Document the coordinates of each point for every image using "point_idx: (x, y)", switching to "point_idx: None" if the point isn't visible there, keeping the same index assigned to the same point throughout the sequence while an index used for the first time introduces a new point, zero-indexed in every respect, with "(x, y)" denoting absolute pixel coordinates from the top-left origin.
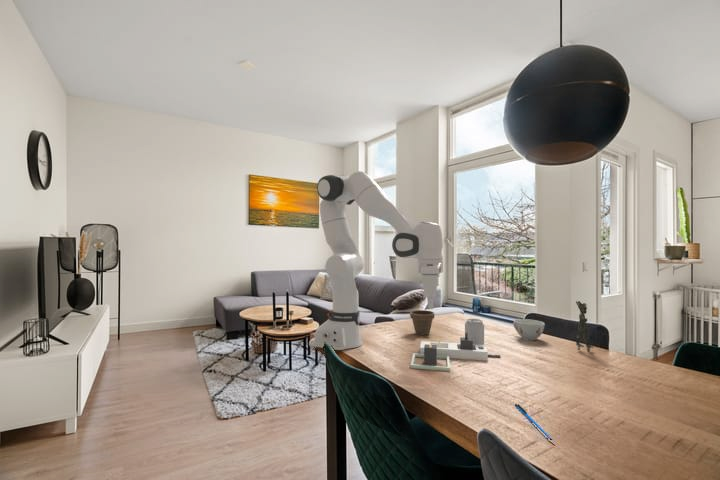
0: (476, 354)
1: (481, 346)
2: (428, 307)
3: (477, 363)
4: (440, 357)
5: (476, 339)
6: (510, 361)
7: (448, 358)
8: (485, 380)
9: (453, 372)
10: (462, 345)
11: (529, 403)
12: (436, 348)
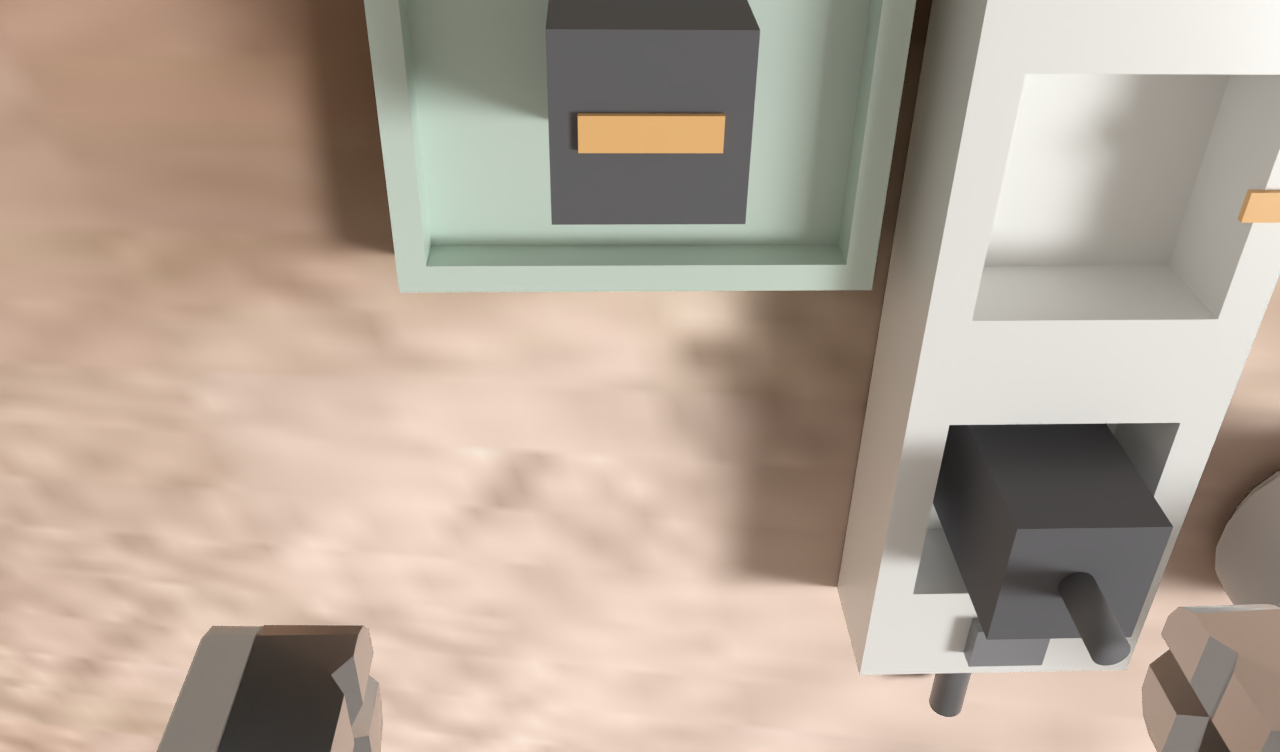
0: (867, 565)
1: (1008, 653)
2: (205, 662)
3: (817, 512)
4: (852, 178)
5: None
6: (908, 735)
7: (755, 281)
8: (349, 536)
9: None
10: (992, 497)
11: (8, 726)
12: (554, 222)
